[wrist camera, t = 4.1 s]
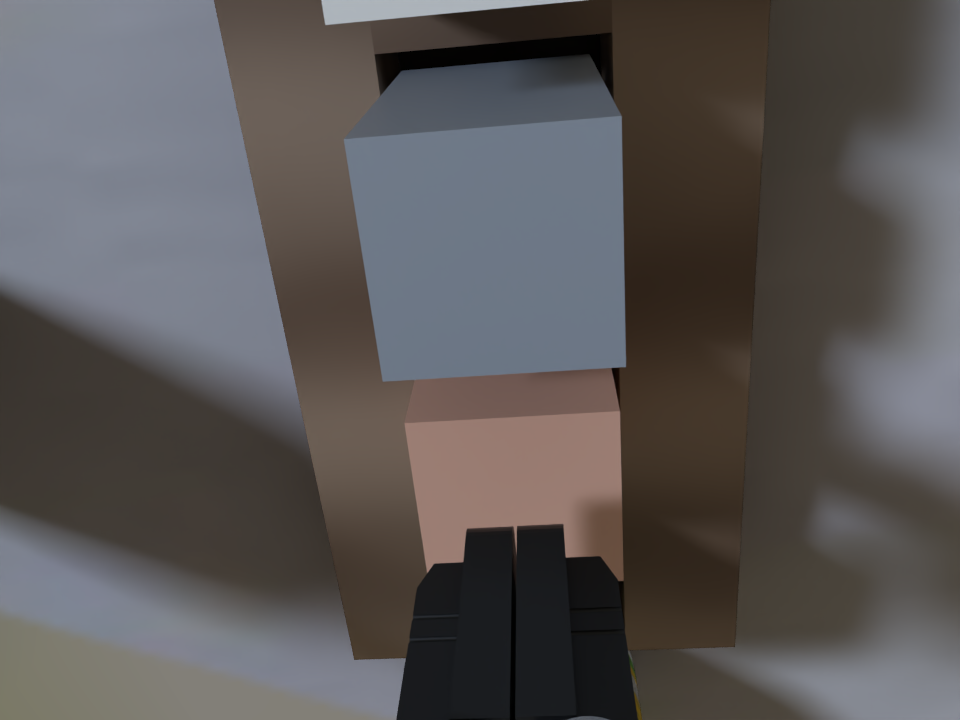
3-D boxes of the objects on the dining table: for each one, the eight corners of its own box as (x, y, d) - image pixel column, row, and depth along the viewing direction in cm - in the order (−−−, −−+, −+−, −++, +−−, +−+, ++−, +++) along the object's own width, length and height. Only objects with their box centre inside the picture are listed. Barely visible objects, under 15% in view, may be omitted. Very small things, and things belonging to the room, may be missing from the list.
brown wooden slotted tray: (208, -274, 16) (147, -314, 14) (746, -342, 15) (793, -398, 13) (371, 583, 26) (354, 659, 23) (712, 569, 25) (734, 646, 22)
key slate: (401, 70, 17) (343, 139, 11) (589, 53, 16) (621, 115, 11) (423, 247, 18) (382, 381, 13) (595, 235, 18) (625, 366, 12)
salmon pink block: (436, 288, 20) (404, 422, 14) (593, 278, 19) (620, 410, 14) (453, 423, 21) (429, 588, 16) (598, 414, 21) (623, 580, 16)
